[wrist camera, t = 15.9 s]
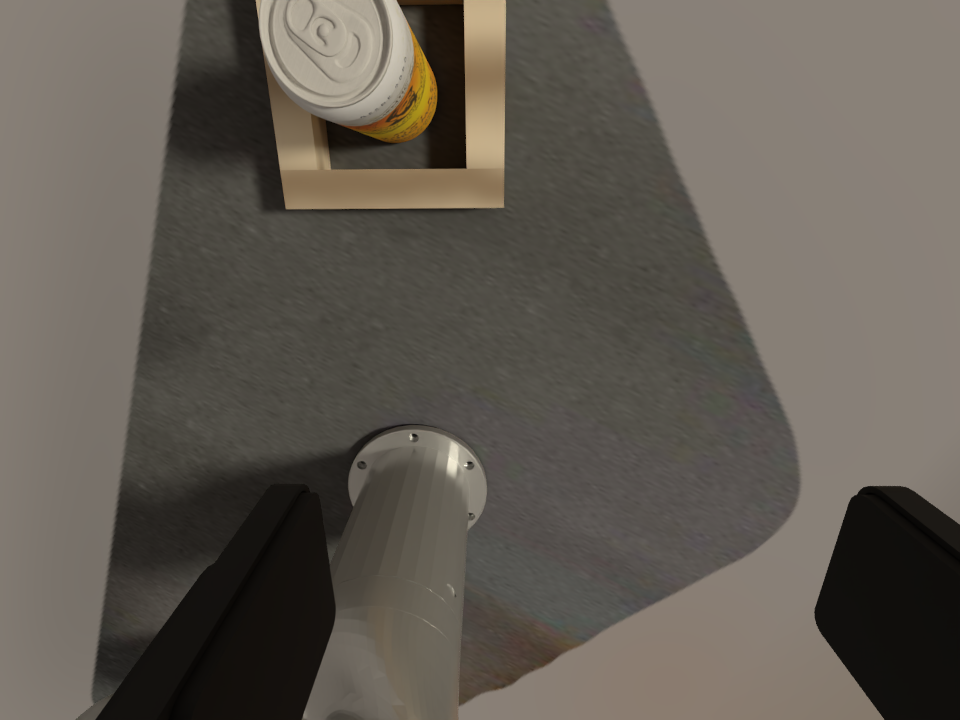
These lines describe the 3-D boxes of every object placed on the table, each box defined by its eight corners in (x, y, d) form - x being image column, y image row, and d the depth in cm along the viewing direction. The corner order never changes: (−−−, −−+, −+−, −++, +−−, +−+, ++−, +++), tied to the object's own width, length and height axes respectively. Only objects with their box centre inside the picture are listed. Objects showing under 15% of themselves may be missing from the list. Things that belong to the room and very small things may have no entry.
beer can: (407, 162, 34) (351, 149, 20) (334, 105, 33) (222, 51, 19) (455, 85, 33) (431, 13, 19) (381, 22, 31) (294, -105, 17)
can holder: (502, 205, 35) (503, 207, 32) (301, 206, 36) (285, 209, 33) (504, -44, 30) (506, -68, 27) (268, -41, 30) (246, -63, 27)
